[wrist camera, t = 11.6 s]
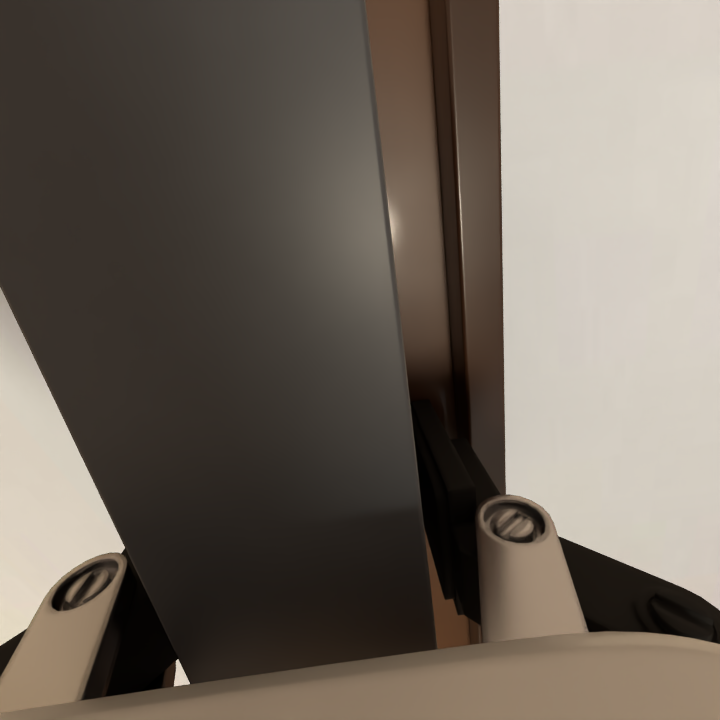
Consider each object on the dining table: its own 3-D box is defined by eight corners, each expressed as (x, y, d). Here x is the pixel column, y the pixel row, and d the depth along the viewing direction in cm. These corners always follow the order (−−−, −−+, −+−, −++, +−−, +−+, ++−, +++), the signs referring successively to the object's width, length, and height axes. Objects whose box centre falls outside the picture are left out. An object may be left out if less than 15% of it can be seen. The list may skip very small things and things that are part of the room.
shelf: (289, 518, 24) (245, 742, 13) (191, 152, 17) (-78, -2, 6) (435, 496, 24) (509, 704, 13) (400, 118, 17) (499, -98, 6)
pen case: (316, 661, 14) (299, 919, 8) (165, 130, 8) (-191, -86, 3) (420, 645, 14) (467, 896, 8) (348, 102, 8) (353, -176, 3)
